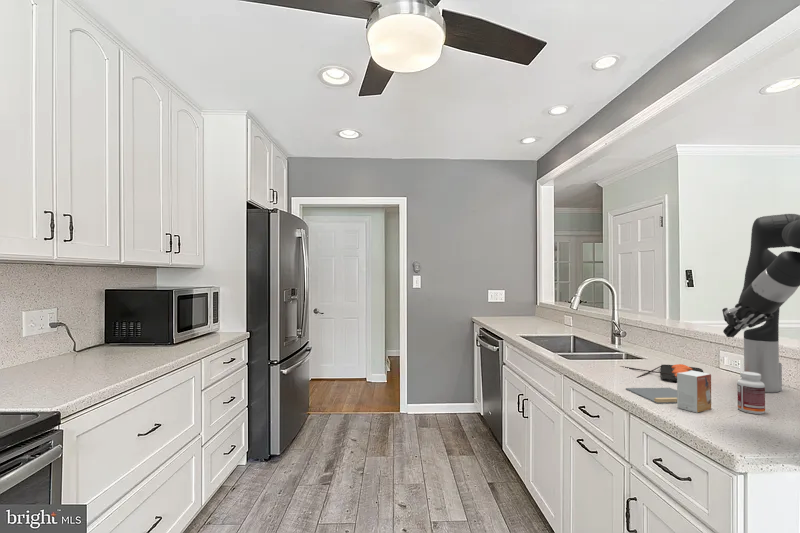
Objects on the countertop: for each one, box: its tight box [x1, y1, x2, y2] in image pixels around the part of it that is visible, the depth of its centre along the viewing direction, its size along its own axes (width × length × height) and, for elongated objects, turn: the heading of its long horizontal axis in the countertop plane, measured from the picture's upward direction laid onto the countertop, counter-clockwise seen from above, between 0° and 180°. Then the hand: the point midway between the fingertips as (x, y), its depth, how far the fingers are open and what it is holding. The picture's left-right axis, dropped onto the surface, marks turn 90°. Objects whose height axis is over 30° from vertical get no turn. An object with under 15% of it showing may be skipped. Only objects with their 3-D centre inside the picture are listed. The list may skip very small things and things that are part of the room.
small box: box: [676, 370, 712, 414], centre depth 123 cm, size 8×6×10 cm
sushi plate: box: [620, 363, 705, 383], centre depth 167 cm, size 29×30×4 cm
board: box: [625, 387, 677, 405], centre depth 136 cm, size 16×16×1 cm
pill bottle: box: [736, 371, 766, 415], centre depth 121 cm, size 6×6×11 cm
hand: (727, 334), depth 113 cm, fingers closed
